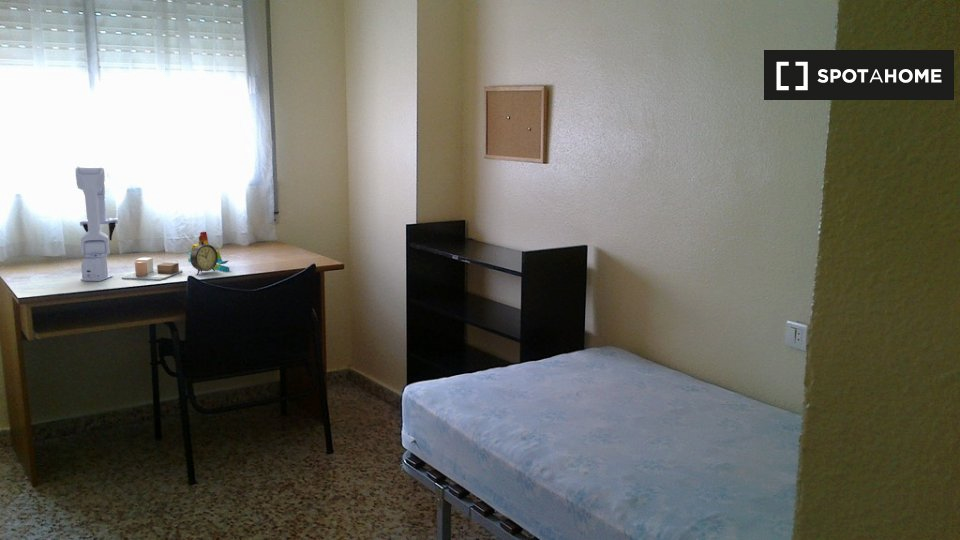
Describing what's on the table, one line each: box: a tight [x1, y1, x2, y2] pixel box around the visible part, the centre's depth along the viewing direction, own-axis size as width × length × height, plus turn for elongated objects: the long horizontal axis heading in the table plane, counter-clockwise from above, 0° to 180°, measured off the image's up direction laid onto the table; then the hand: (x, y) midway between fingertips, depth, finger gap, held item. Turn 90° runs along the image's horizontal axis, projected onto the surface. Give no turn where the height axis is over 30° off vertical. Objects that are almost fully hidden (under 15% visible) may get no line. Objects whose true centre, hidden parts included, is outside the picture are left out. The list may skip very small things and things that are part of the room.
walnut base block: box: [156, 262, 180, 274], centre depth 321 cm, size 6×6×4 cm
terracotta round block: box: [134, 261, 148, 277], centre depth 314 cm, size 4×4×6 cm
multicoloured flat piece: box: [187, 231, 231, 273], centre depth 337 cm, size 30×3×15 cm, turn 47°
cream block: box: [135, 257, 154, 273], centre depth 321 cm, size 4×4×6 cm
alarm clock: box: [189, 234, 218, 276], centre depth 323 cm, size 11×5×16 cm, turn 148°
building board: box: [121, 268, 183, 282], centre depth 318 cm, size 18×16×1 cm
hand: (100, 240), depth 335 cm, fingers open, 7 cm apart
